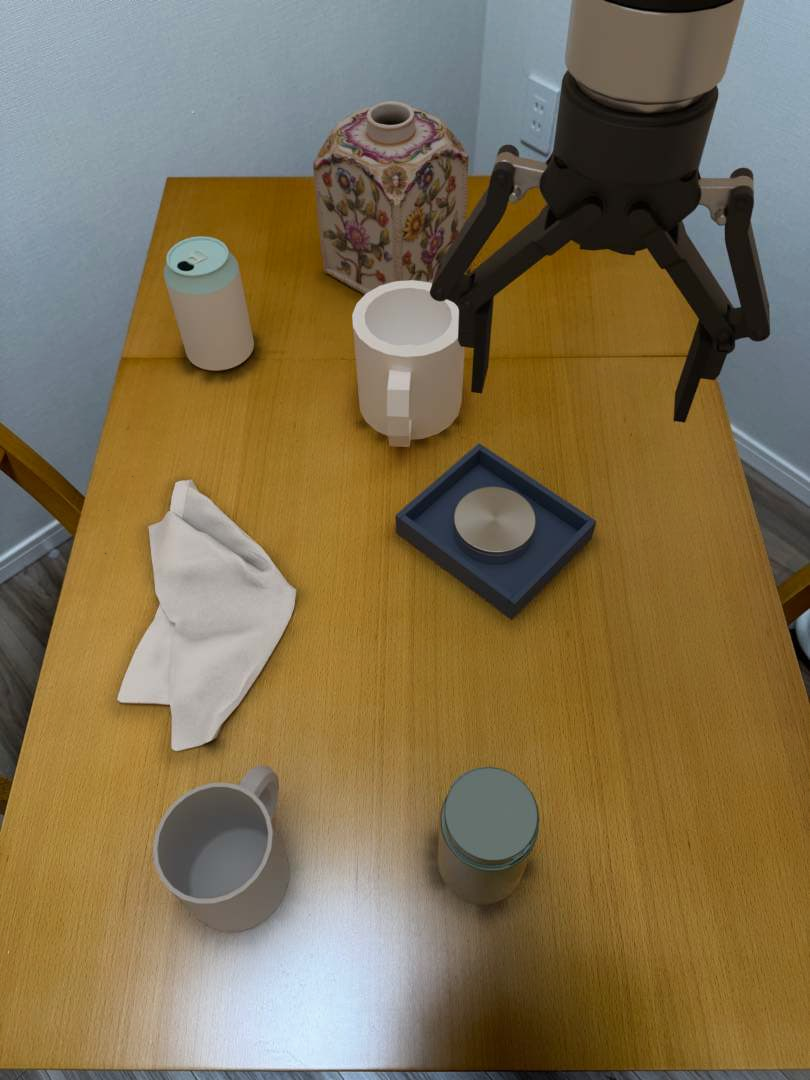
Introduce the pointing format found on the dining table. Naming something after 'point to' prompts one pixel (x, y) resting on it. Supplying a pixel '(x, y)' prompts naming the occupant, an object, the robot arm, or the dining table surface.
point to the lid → (494, 525)
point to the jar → (486, 834)
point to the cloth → (205, 618)
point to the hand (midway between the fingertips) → (578, 393)
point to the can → (209, 303)
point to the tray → (506, 583)
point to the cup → (225, 851)
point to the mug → (407, 361)
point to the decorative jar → (389, 195)
